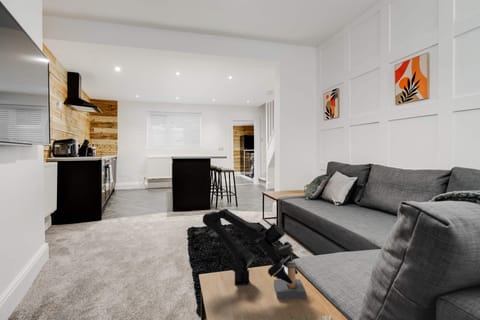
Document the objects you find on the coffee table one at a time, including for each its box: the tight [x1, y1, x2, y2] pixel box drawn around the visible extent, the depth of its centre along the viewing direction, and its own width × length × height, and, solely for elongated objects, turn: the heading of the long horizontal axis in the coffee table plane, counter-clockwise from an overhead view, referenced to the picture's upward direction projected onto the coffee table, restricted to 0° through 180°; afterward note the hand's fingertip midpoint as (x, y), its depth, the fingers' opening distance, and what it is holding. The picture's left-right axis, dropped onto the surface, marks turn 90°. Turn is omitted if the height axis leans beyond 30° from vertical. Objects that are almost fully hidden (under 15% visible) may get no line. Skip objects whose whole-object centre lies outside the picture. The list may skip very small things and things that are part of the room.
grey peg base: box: [273, 278, 307, 300], centre depth 106 cm, size 12×10×3 cm
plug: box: [287, 261, 297, 289], centre depth 105 cm, size 4×4×13 cm
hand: (294, 278), depth 104 cm, fingers open, 9 cm apart
